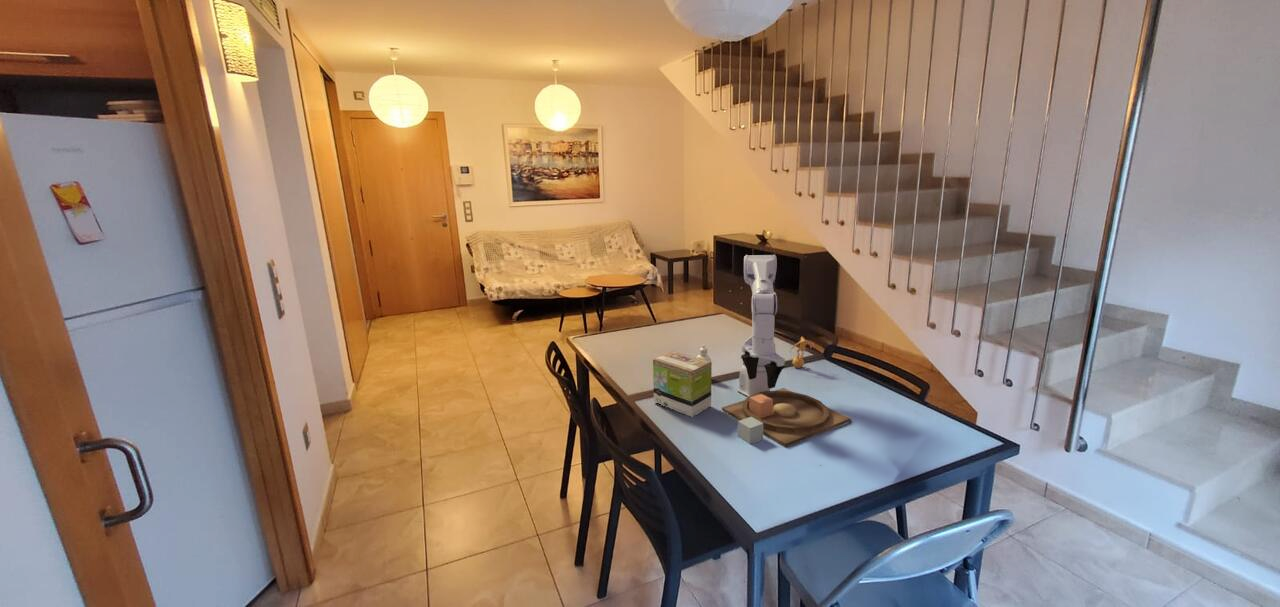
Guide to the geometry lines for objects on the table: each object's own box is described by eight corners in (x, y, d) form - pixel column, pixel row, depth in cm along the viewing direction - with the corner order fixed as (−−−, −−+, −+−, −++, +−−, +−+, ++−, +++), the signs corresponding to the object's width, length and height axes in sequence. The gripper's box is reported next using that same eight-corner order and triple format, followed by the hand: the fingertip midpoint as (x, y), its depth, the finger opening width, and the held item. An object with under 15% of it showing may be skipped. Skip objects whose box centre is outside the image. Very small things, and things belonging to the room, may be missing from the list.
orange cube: (749, 412, 147) (749, 397, 146) (761, 408, 149) (761, 393, 148) (760, 418, 143) (760, 403, 142) (772, 414, 145) (773, 399, 144)
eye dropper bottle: (708, 374, 177) (708, 341, 174) (711, 381, 172) (711, 347, 169) (695, 375, 177) (695, 342, 174) (698, 382, 172) (698, 348, 169)
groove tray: (721, 410, 151) (721, 402, 150) (783, 390, 163) (783, 383, 162) (785, 447, 130) (785, 438, 129) (850, 421, 142) (851, 413, 141)
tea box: (652, 404, 156) (651, 358, 153) (673, 393, 163) (672, 349, 160) (692, 418, 146) (691, 370, 143) (712, 406, 153) (712, 360, 150)
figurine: (805, 364, 184) (807, 332, 181) (814, 370, 179) (816, 337, 176) (784, 366, 182) (785, 334, 179) (793, 373, 177) (794, 339, 174)
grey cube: (737, 436, 136) (738, 421, 134) (750, 432, 138) (751, 416, 137) (749, 444, 132) (749, 428, 131) (762, 439, 134) (763, 423, 133)
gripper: (734, 332, 144) (733, 377, 148) (771, 346, 132) (769, 395, 135) (753, 328, 148) (752, 372, 151) (791, 341, 136) (789, 389, 139)
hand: (761, 382), depth 143 cm, fingers open, 7 cm apart
